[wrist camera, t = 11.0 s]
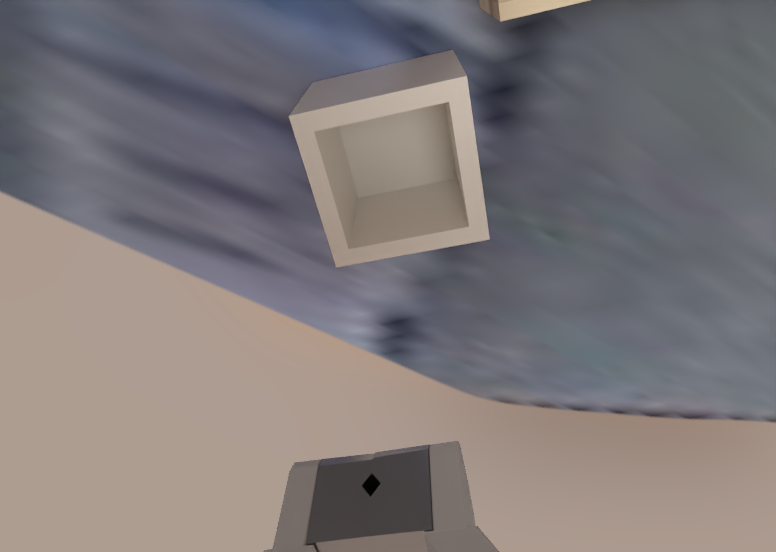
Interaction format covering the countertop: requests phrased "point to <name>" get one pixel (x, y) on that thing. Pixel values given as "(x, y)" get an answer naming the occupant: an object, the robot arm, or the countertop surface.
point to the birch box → (521, 7)
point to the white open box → (393, 159)
